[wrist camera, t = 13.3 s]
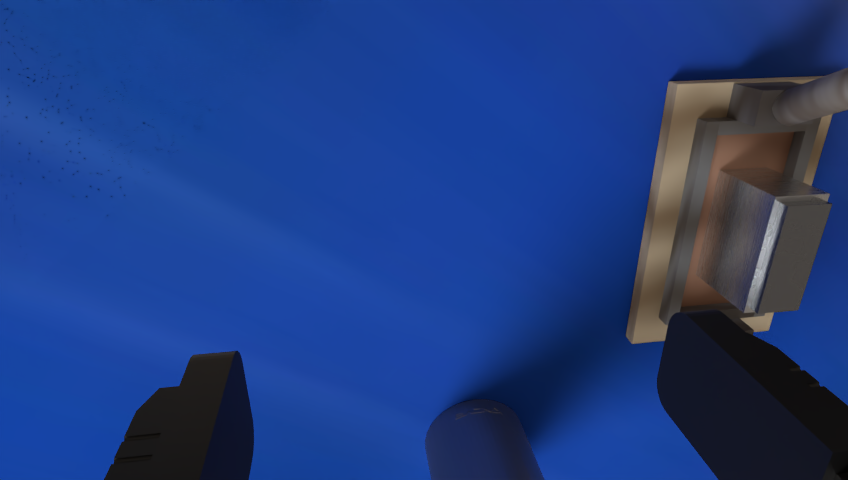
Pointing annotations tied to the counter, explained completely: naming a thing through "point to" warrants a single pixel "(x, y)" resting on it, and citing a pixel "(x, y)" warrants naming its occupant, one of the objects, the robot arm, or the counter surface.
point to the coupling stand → (697, 175)
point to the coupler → (762, 238)
